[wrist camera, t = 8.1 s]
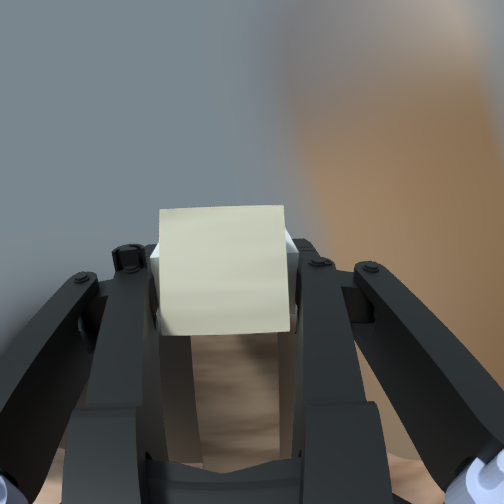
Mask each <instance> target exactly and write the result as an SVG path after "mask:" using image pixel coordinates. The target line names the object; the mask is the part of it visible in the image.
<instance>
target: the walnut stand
mask: <svg viewBox="0 0 504 504" xmlns="http://www.w3.org/2000/svg"><path fill="white" fill-rule="evenodd" d="M191 347H192V362H193V374H194V386H195V397H196V408H197V417H198V426H199V435H200V443H201V450H202V458H203V466H204V470H208V471H212V472H217V473H229V472H233V471H237V470H241V469H245V468H248V467H252V466H256V465H259V464H263V463H266V462H269V461H273V460H280V433H279V432H280V429H279V384H278V383H279V382H278V351H277V350H278V347H277V333H276V332H268V333H250V334H224V335H192V336H191Z"/></svg>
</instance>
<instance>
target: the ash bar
mask: <svg viewBox="0 0 504 504" xmlns="http://www.w3.org/2000/svg"><path fill="white" fill-rule="evenodd" d="M159 279H160V309H161V328H162V335H224V334H250V333H268V332H284V331H290V321H289V295H288V273H287V254H286V237H285V221H284V206H283V205H262V206H226V207H199V208H179V209H161V210H160V221H159Z"/></svg>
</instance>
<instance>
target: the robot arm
mask: <svg viewBox="0 0 504 504" xmlns="http://www.w3.org/2000/svg"><path fill="white" fill-rule="evenodd" d="M285 237H286V254H287V273H288V295H289V314H295V304H296V305H297V308H298V310H297V321H296V332H295V334H297V338H296V377H295V403H294V424H293V441H292V457H291V459H283V460H273V461H269V462H266V463H263V464H259V465H256V466H252V467H248V468H245V469H241V470H237V471H233V472H229V473H217V472H212V471H208V470H203V469H199V468H195V467H191V466H187V465H184V464H180V463H177V462H169V460H168V454H167V445H166V437H165V428H164V418H163V408H162V397H161V383H160V367H159V345H158V322H157V317H156V312H157V309H159V315H160V318H161V309H160V279H159V243H158V244H153V245H147V246H145V247H144V246H143V245H140V244H128V245H123V246H120V247H117V248H116V249H114V250H113V251H112V256H113V262H114V267H115V275H114V278H113V279H111V280H106V281H101V282H98V279H97V275H96V274H95V273H93V272H81V273H80V272H79V273H77V274H76V275H73V276H72V277H71V278H69V279H68V280H67V281H66V282H65V283H64V284H63V285H62V286H61V287H60V288H59V290H57V292H56V293H55V294H54V295H53V296H52V297H51V298H50V299H49V300H48V301H47V302H46V304H45V305H44V306H43V307H42V308H41V309H40V310H39V311H38V313H37V314H36V315H35V316H34V317H33V318H32V319H31V321H30V322H29V323H28V324H27V325H26V326H25V327H24V329H23V330H22V331H21V332H20V334H19V335H18V336H17V337H16V339H15V340H14V341H13V342H12V343H11V344H10V346H9V347H8V349H7V350H6V351H5V352H4V353H3V355H2V356H1V357H0V504H33V502H34V501H35V499H36V497H37V496H38V494H39V492H40V490H41V488H42V486H43V484H44V481H45V479H46V477H47V474H48V472H49V469H50V466H51V464H52V461H53V458H54V456H55V453H56V451H57V448H58V446H59V443H60V441H61V438H62V436H63V434H64V431H65V429H66V427H67V424H68V422H69V427H68V435H67V442H66V449H65V458H64V469H63V482H62V502H61V503H60V504H412V503H410V502H408V501H406V500H404V499H402V498H401V497H399V496H397V495H395V494H394V493H392V488H391V480H390V473H389V466H388V460H387V453H386V447H385V442H384V436H383V431H382V425H381V420H380V415H379V410H378V408H377V405H376V404H375V402H374V401H368V402H367V400H366V397H365V392H364V386H363V381H362V376H361V371H360V366H359V361H358V357H357V352H356V348H355V343H354V340H355V342H356V343H357V345H358V347H359V348H360V350H361V352H362V353H363V355H364V357H365V359H366V360H367V362H368V364H369V365H370V367H371V369H372V371H373V372H374V374H375V375H376V377H377V379H378V381H379V383H380V384H381V386H382V388H383V390H384V391H385V393H386V395H387V396H388V398H389V400H390V402H391V404H392V406H393V407H394V409H395V411H396V413H397V414H398V416H399V418H400V420H401V422H402V423H403V425H404V427H405V429H406V431H407V433H408V435H409V436H410V438H411V440H412V442H413V444H414V446H415V448H416V449H417V451H418V453H419V455H420V457H421V459H422V461H423V463H424V465H425V467H426V468H427V470H428V472H429V473H430V475H431V477H432V478H433V479H434V481H435V482H436V483H437V485H438V486H439V487H440V488H441V490H442V491H443V492H444V493H445V501H444V503H443V504H504V391H503V390H502V388H501V387H500V386H499V385H498V384H497V382H496V381H495V380H494V379H493V378H492V377H491V375H490V374H489V373H488V372H487V371H486V370H485V369H484V367H483V366H482V365H481V364H480V363H479V362H478V361H477V360H476V359H475V357H474V356H473V355H472V354H471V353H470V352H469V351H468V349H467V348H466V347H465V346H464V345H463V344H462V343H461V342H460V341H459V340H458V339H457V338H456V336H455V335H454V334H453V333H452V332H451V331H450V330H449V329H448V328H447V327H446V326H445V325H444V324H443V323H442V322H441V321H440V320H439V319H438V318H437V317H436V316H435V315H434V314H433V313H432V312H431V311H430V310H429V309H428V308H427V307H426V306H425V305H424V304H423V303H422V302H421V301H420V300H419V299H418V298H417V297H416V296H415V295H414V294H413V293H412V292H411V291H410V290H409V289H408V288H407V287H406V286H405V285H404V284H403V283H402V282H400V281H399V280H398V279H397V278H396V277H395V276H394V275H393V274H392V273H391V272H390V271H389V270H388V269H386V268H385V267H384V266H382V265H381V264H378V263H376V262H372V261H364V262H359V263H357V264H355V268H354V272H346V271H339V270H336V267H335V264H334V262H333V261H331V260H329V259H327V258H324V257H320V255H319V254H318V252H317V251H316V250H315V248H314V247H313V245H312V244H311V242H309V241H307V240H305V239H291V237H290V235H289V234H288V232H287V230H286V228H285ZM78 321H79V324H80V328H79V329H78ZM89 377H90V378H89ZM88 379H89V384H88V389H87V395H86V402H85V406H84V408H75V406H76V404H77V402H78V400H79V398H80V396H81V393H82V391H83V389H84V387H85V385H86V383H87V381H88ZM69 420H70V421H69Z"/></svg>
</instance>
